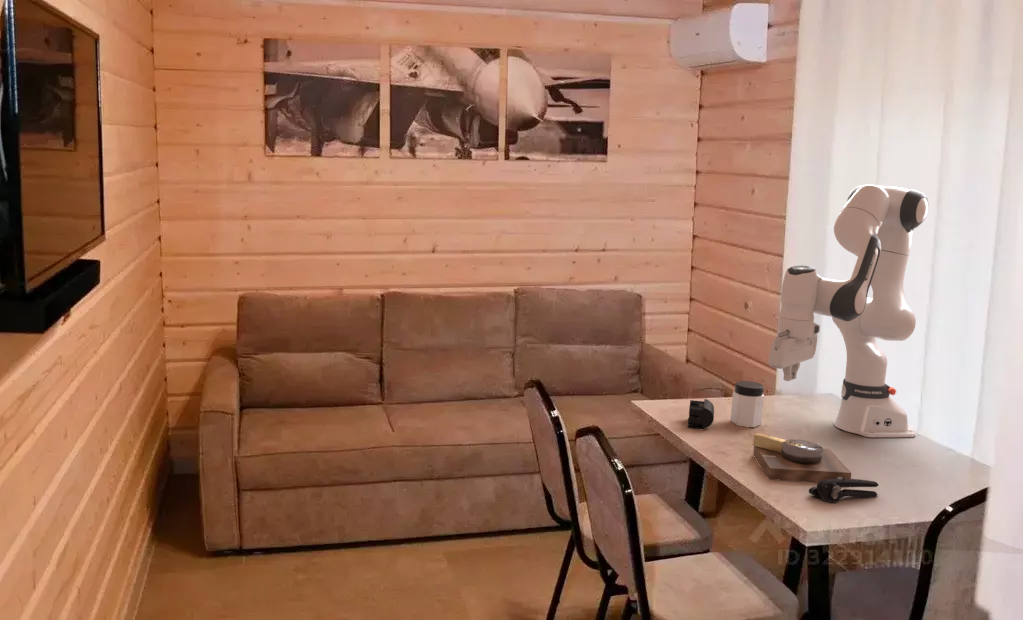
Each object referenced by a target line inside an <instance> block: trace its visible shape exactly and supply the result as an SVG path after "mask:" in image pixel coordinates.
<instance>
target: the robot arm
mask: <svg viewBox="0 0 1023 620" xmlns="http://www.w3.org/2000/svg"><path fill="white" fill-rule="evenodd" d="M846 200H847V201H846V203H845V205H844V206H843V208H842V210H841V211H840V213H839V214H838V216H837V218H836V220H835V222H834V226H833V233H834V237H835V240H836V241H837V242H838V243H839V245H841V247H842V248H843V249H844V250H845V251H848V252H849V253H851V254H853V255H855V256H856V257H857V260H856V261H855V264H854V268H853V271H852V274H851V277H850V278H848V279H845V280H838V279H831V278H826V277H823V276H820V275H819V274H818V272H817V269H816V268H815V267H814V266H810V265H802V264H801V265H793V266H790V267H789V268H787V269H786V271H785V274H784V277H783V280H782V285H781V292H780V304H781V307H780V310H779V313H778V321H777V330H776V332H777V335H776V337H774V338H773V339H772V340H771V341H772V342H771V345H770V350H769V354H768V366H769V367H770V368H773V369H780V370H781V369H782V372H783V381H785V382H786V381H787V382H790V381H792V380H795V379H797V373H798V371H799V368H800V366H801V363H802V362H806V361H809V360H811V359H813V358H814V357H815V354H816V350H817V345H818V344H817V343H818V334H820V330H821V325H820V324H817V323H816V322H815V315H814V314H817V315H820V316H821V315H822V316H826V317H831V319H832V321H833V323H834V324H835V325H836V327H837V329H839V332H840V333H841V336H842V337H843V342H844V344H845V345H844V346H845V349H846V351H845V352H846V362H845V363H846V366H845V375H844V378H843V381H842V385H841V392H840V393H841V401H840V404H839V405H840V406H839V409H838V413H837V416H836V418H835V419H834V422H833V425H834V426H835V427H836V428H837V429H840V430H843V431H845V432H849V433H851V434H852V433H853V434H857V435H860V436H863V437H866V438H914V437H915V435H916V432H915V429H913V427H912V426H910V425H909V423H908V422H909V421H908V415H907V413H906V410H904V408H903V407H901V406H900V405H899V404H898V403H897V402H896V401H895V400H894V399H893V398H892V397H891V396H895V395H896V394H897V390H896V389H895V388H894V387H893V386H890V385H888V384H886V376H887V375H886V374H887V366H888V359H887V356H886V354H885V352H883V351H882V349H881V348H880V347H879V346H878V343H877V339H879V340H884V341H889V342H891V341H892V342H893V341H894V342H898V341H899V342H901V341H906V340H907V339H908V338H910V337H911V335H913V333H914V330H915V328H916V324H917V323H916V320H917V319H916V316H915V314H914V311H913V310H912V309H911V308H910V306H909V304H908V303H907V301H906V297H905V291H904V280H905V273H906V269H907V264H908V259H909V256H910V253H911V247H912V246H911V245H912V236H913V231H914V230H915V229H917V228H918V227H920V226H921V224H923V223H924V221H925V220H926V218H927V215H928V210H929V201H928V198H927V196H926V194H925V193H923V192H922V191H919V190H916V189H908V188H904V187H898V186H892V185H889V186H886V185H876V184H861V185H857V186H855V187H854V188H853V189H852V190H851V191H850V192H849V194H848V196H847V199H846ZM870 287H871V289H872V297H868V294H869V290H870Z"/></svg>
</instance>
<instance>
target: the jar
mask: <svg viewBox="0 0 1023 620" xmlns="http://www.w3.org/2000/svg"><path fill="white" fill-rule="evenodd" d="M731 400H732V401H731V410H730V419H729V421H730V422H731V421H732V422H733V423H732V422H731V423H732V424H734V423H735V424H736V426H737V425H740V426H739V427H741V426H748V427H747V428H749V427H754V428H756V427H755V426H757V427H759V426H758V425H760V426H762V423H763V422H762V421H763V413H764V411H763V410H764V401H765V394H764V385H763V384H762V383H760V382H757V381H756V382H755V381H751V380H750V381H749V380H740V381H739V380H738V381H736V382H735V385H734V390H733V391H732V399H731ZM735 424H734V425H735Z"/></svg>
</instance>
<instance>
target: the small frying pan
mask: <svg viewBox="0 0 1023 620" xmlns="http://www.w3.org/2000/svg"><path fill="white" fill-rule="evenodd" d="M752 441H753V442H752V446H753V447H754V446H757V447H761V448H765V449H768V450H772V451H775V452H779V453H781V456H782V457H783V458H785V459H787V460H789V461H793V462H797V463H803V464H815V463H819V462H821V460H822V452H823V449H824V448H823V446H821V445H820V444H818V443H816V442H812V441H809V440H803V439H784V438H781V437H776V436H772V435H769V434H765V433H761V432H757V433H753V440H752Z"/></svg>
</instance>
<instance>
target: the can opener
mask: <svg viewBox="0 0 1023 620" xmlns="http://www.w3.org/2000/svg"><path fill="white" fill-rule="evenodd" d="M879 486H880V485H879V483H878V482H876V481H874V480H869V479H868V480H865V479H857V478H851V479H843V478H842V477H838V478H837V479H827V480H821V481H819V482H816V486H812V487H809V489H808V493H809V494H810V495H811V496H814V497H815V498H820V499H822V500H823V501H826V502H828V503H837V502H838V501H840V500H841V499H842V498H845V497H846V498H847V497H853V498H860V499H861V498H862V499H865V498H866V499H869V498H877V497H878V493H877V491H874V490H865V489H852V488H877V487H879ZM842 488H844V489H842ZM846 488H848V489H846ZM850 488H851V489H850Z"/></svg>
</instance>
